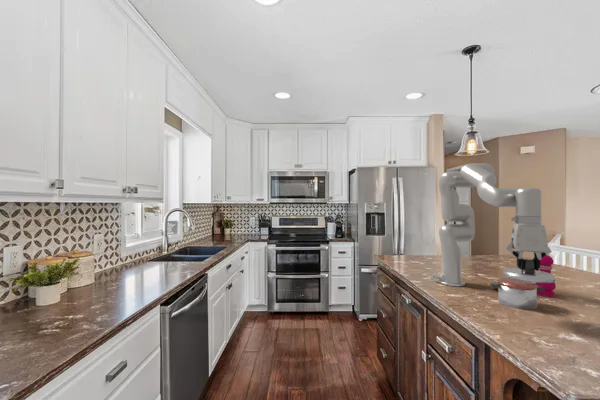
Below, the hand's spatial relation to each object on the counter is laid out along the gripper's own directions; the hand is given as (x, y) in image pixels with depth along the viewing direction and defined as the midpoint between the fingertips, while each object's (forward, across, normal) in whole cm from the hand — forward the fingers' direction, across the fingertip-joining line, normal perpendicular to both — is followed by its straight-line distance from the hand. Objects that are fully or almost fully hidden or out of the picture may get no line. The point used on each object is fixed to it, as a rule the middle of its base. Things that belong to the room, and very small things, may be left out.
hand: (528, 268), depth 105 cm
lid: (+3, 0, 0) cm, 3 cm away
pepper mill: (+19, +20, +33) cm, 43 cm away
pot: (+18, +2, +15) cm, 24 cm away
